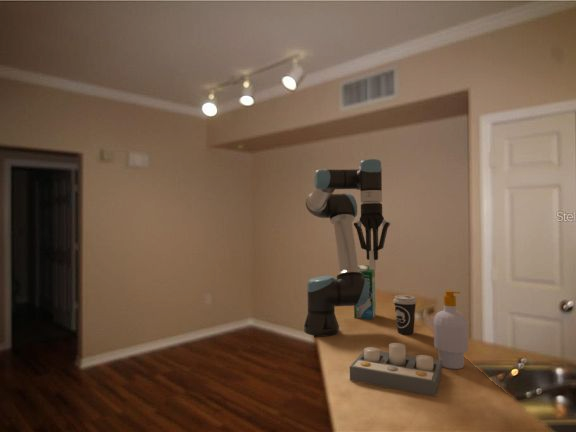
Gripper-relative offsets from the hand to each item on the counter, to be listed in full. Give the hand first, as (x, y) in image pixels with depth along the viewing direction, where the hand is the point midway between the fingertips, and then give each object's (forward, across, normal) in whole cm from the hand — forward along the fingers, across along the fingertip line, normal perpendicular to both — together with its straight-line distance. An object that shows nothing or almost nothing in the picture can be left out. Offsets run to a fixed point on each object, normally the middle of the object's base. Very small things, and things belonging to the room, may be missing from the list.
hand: (372, 269), depth 132 cm
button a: (+30, +3, -14) cm, 33 cm away
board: (+30, +11, -16) cm, 36 cm away
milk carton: (+31, -18, +50) cm, 61 cm away
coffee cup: (+31, +5, +31) cm, 44 cm away
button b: (+27, +11, -14) cm, 33 cm away
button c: (+30, +19, -14) cm, 38 cm away
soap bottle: (+31, +25, +1) cm, 40 cm away
